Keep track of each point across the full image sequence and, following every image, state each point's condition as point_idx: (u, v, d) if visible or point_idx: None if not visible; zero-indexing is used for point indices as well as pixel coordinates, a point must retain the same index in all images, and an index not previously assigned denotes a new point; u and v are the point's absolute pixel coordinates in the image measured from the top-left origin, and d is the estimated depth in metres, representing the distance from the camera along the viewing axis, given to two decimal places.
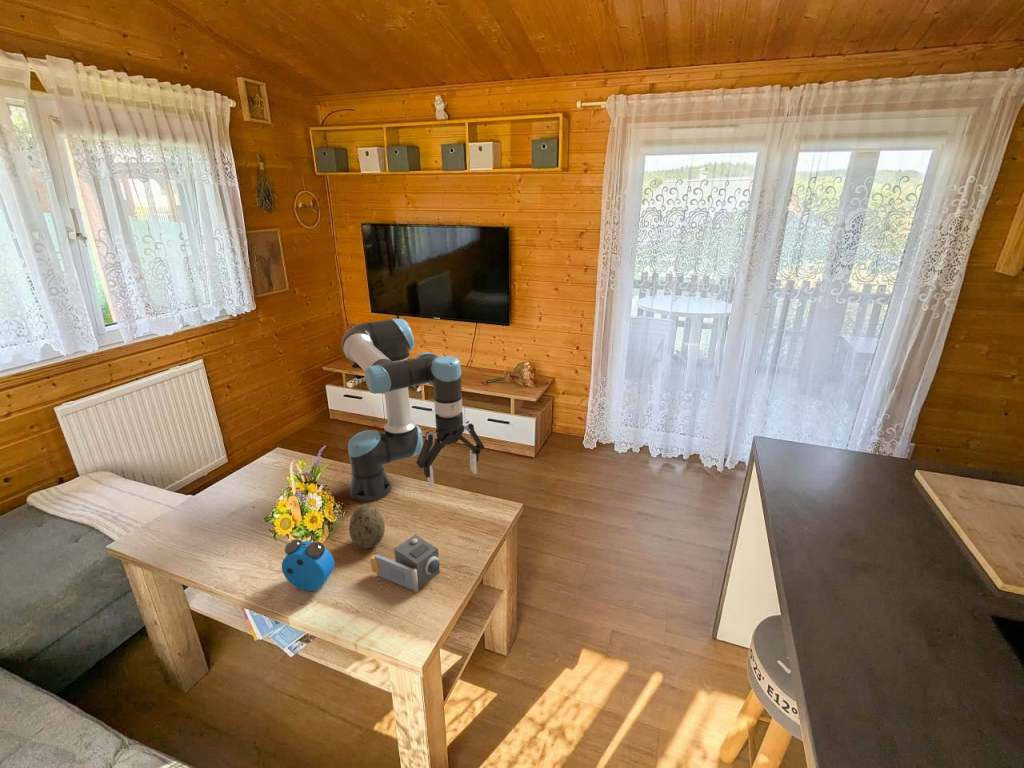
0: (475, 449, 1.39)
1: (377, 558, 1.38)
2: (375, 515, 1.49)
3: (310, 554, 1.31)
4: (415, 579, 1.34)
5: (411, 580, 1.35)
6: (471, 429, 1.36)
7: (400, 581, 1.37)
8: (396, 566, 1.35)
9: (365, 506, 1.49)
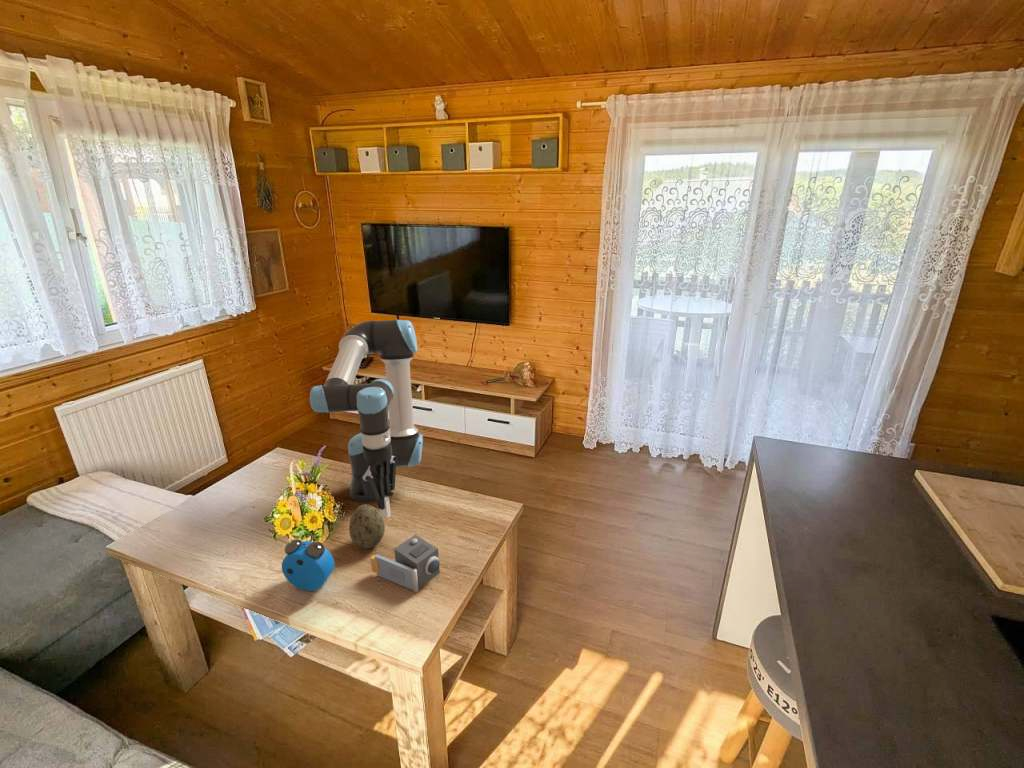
0: (389, 490, 1.36)
1: (377, 558, 1.38)
2: (375, 515, 1.49)
3: (310, 554, 1.31)
4: (415, 579, 1.34)
5: (411, 580, 1.35)
6: (395, 462, 1.37)
7: (400, 581, 1.37)
8: (396, 566, 1.35)
9: (365, 506, 1.49)
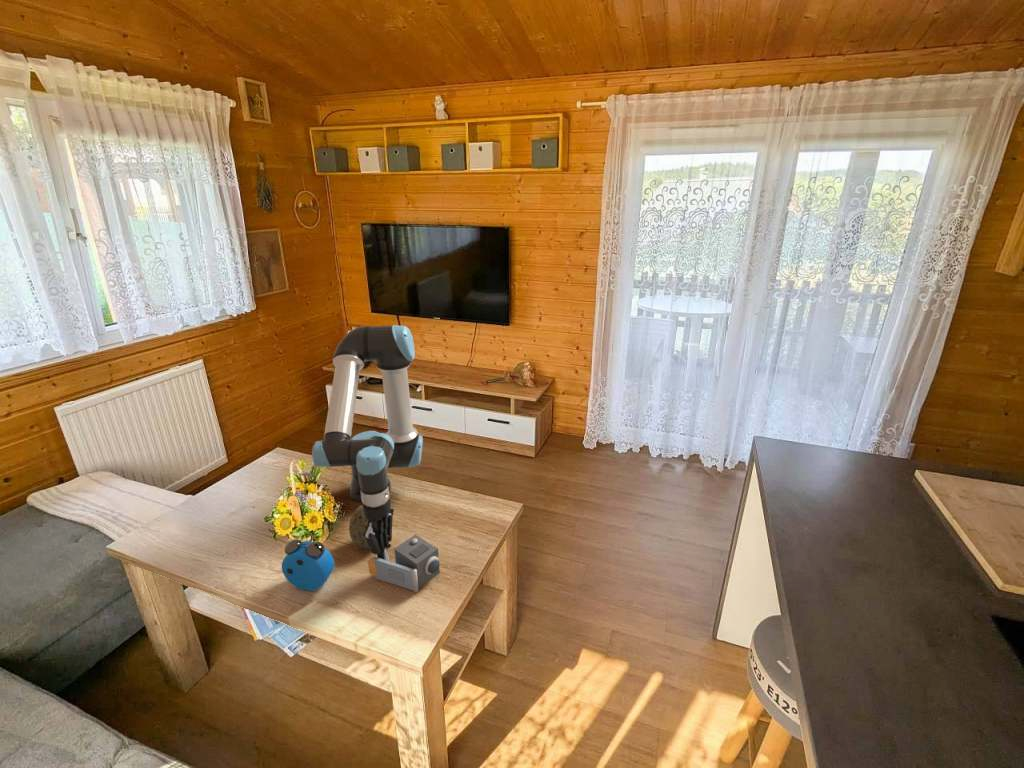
0: (387, 542, 1.40)
1: (375, 560, 1.38)
2: None
3: (310, 554, 1.31)
4: (415, 579, 1.34)
5: (411, 580, 1.34)
6: (391, 514, 1.41)
7: (399, 582, 1.37)
8: (395, 567, 1.35)
9: None
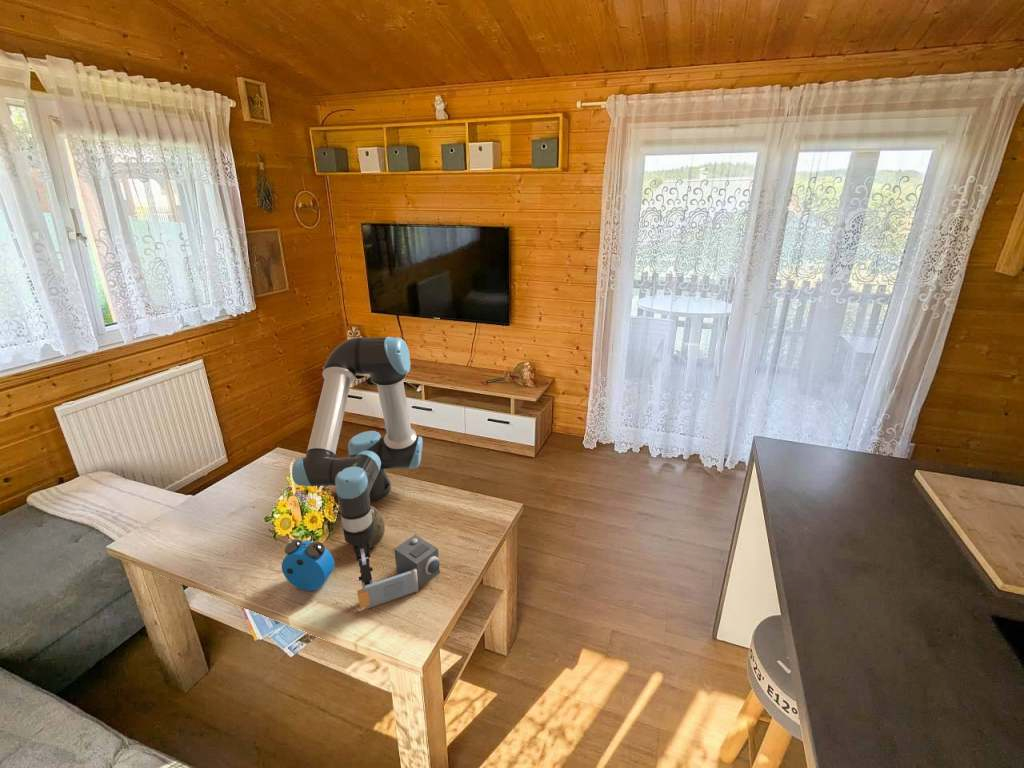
0: None
1: (367, 588, 1.28)
2: (375, 515, 1.49)
3: (310, 554, 1.31)
4: (417, 578, 1.34)
5: (412, 582, 1.34)
6: None
7: (398, 594, 1.33)
8: (393, 579, 1.31)
9: None
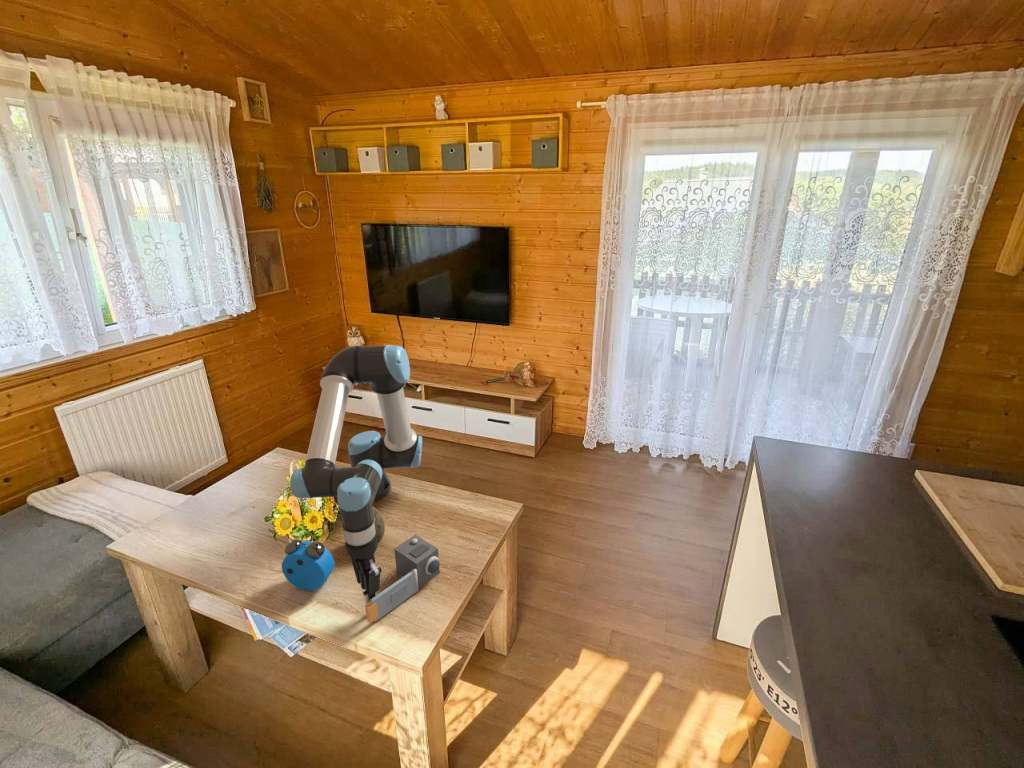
0: None
1: (375, 600, 1.24)
2: (375, 515, 1.49)
3: (310, 554, 1.31)
4: (417, 577, 1.34)
5: (413, 583, 1.34)
6: None
7: (402, 598, 1.31)
8: (398, 584, 1.29)
9: None
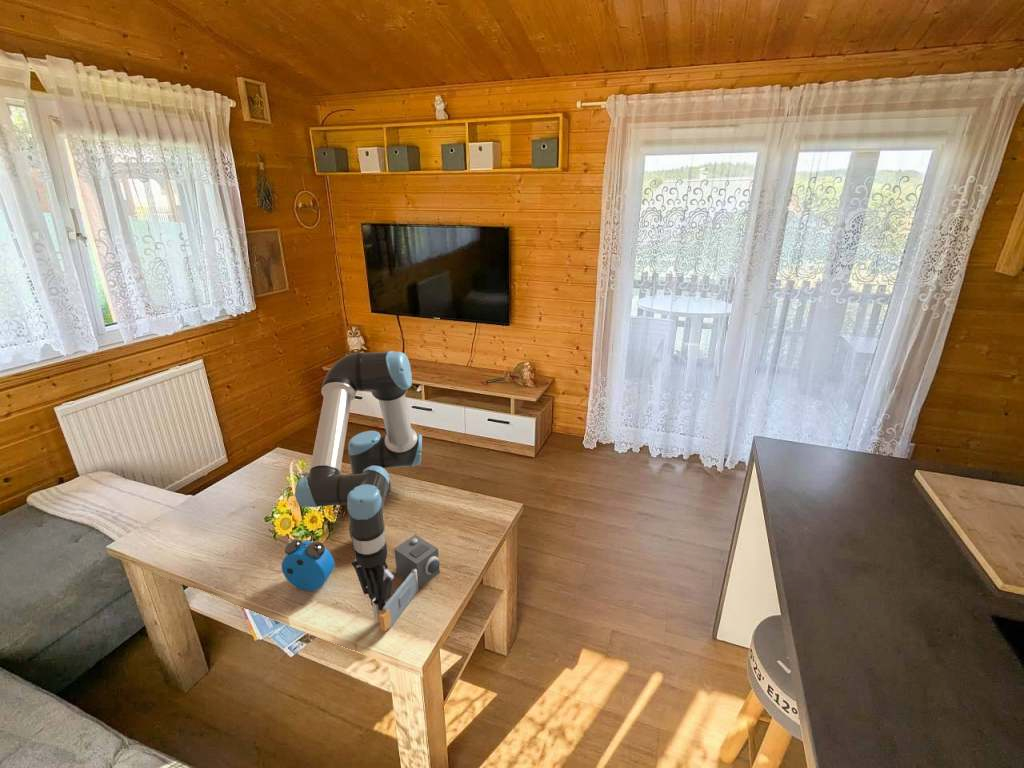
0: None
1: (388, 607, 1.22)
2: None
3: (310, 554, 1.31)
4: (417, 577, 1.34)
5: (415, 583, 1.34)
6: None
7: (407, 600, 1.31)
8: (404, 587, 1.28)
9: None
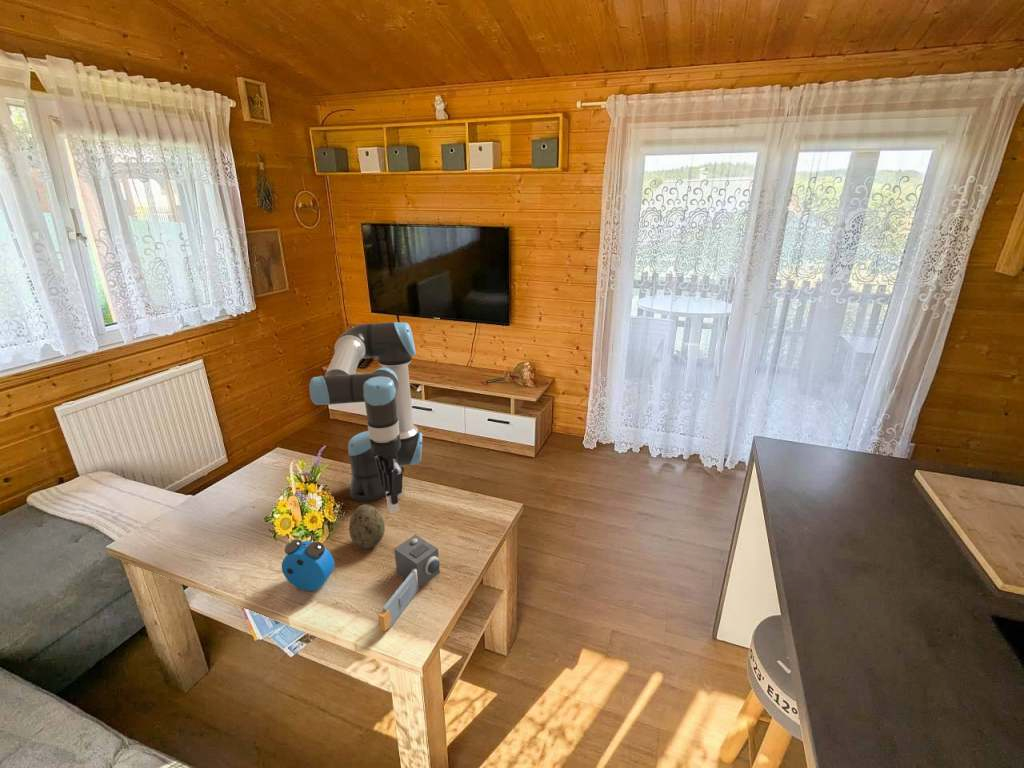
0: None
1: (388, 607, 1.22)
2: (375, 515, 1.49)
3: (310, 554, 1.31)
4: (417, 577, 1.34)
5: (414, 583, 1.34)
6: None
7: (407, 600, 1.31)
8: (403, 587, 1.28)
9: (365, 506, 1.49)
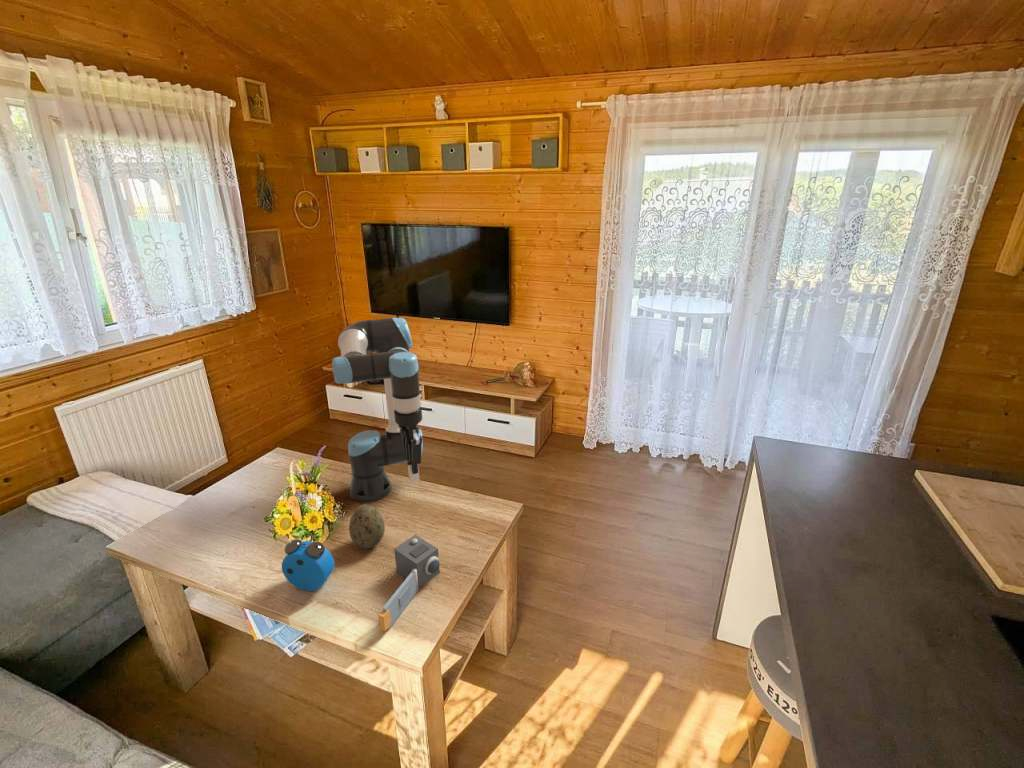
0: None
1: (388, 607, 1.22)
2: (375, 515, 1.49)
3: (310, 554, 1.31)
4: (417, 577, 1.34)
5: (414, 583, 1.34)
6: None
7: (407, 600, 1.31)
8: (403, 587, 1.28)
9: (365, 506, 1.49)
